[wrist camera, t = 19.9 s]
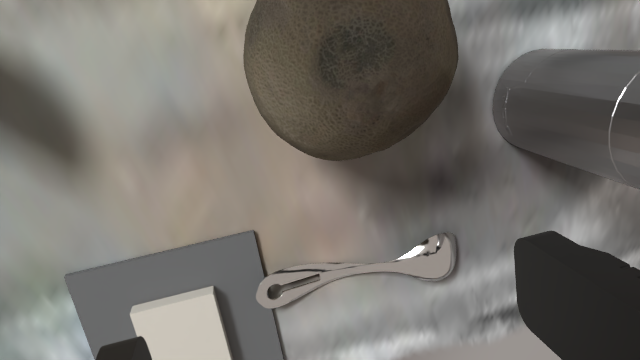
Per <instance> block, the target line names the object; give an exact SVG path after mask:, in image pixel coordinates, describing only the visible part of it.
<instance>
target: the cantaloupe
mask: <svg viewBox="0 0 640 360" xmlns="http://www.w3.org/2000/svg"><path fill="white" fill-rule="evenodd" d="M457 62H458V44H457V37H456V32H455V28H454V25H453V21H452V18H451V13H450V7H449V3H448V0H257V2H256V4H255V7H254V9H253V11H252V13H251V16H250V19H249V22H248V25H247V29H246V34H245V44H244V69H245V74H246V78H247V82H248V85H249V88H250V91H251V94H252V96H253V99H254V102H255V104H256V106H257V108H258V110H259V112H260V114H261V116H262V117H263V118H264V120H265V121H266V122H267V124H268V125H269V127H270V128H271V129H272V130H273V131H274V132H275V133H276V134H277V135H278V136H279V137H280V138H282V139H283V140H285V141H286V142H287V143H289V144H290V145H291V146H293V147H295V148H296V149H298V150H300V151H302V152H304V153H306V154H308V155H310V156H313V157H316V158H320V159H325V160H333V161H340V160H349V159H354V158H360V157H362V156H365V155H368V154H371V153H374V152H378V151H382V150H385V149H387V148H389V147H391V146H392V145H394V144H396V143H397V142H399V141H401V140H402V139H404V138H406V137H407V136H409V135H410V134H411V133H412V132H413V131H415V130H416V129H417V128H418V127H419V126H420V125H421V124H423V123H424V122H425V121H426V120H427V119H428V117H429V116H430V115H431V114H432V112H433V111H434V110H435V109H436V108H437V107H438V105H439V104H440V103H441V102H442V100H443V99H444V97H445V95H446V94H447V92H448V90H449V88H450V85H451V83H452V80H453V77H454V74H455V71H456V67H457Z"/></svg>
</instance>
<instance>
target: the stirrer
mask: <svg viewBox="0 0 640 360" xmlns="http://www.w3.org/2000/svg"><path fill="white" fill-rule="evenodd" d="M455 262H456V238H455V235H454V234H453V233H450V232H446V233H441V234H437V235H435V236H432V237H430V238H428V239H427V240H425V241H424V242H422V243H421V244H419V245H418V246H417V247H415V248H414V249H413V250H412V251H410V252H409V253H407V254H406V255H404V256H402V257H400V258H398V259H396V260H392V261H389V262H383V263H373V264H356V263H315V264H305V265H299V266H294V267H289V268H286V269H282V270H279V271H277V272H274V273H272V274H270V275H268V276H266V277H265V278H264V279H262V280H261V282H260V283H259V285H258V287H257V290H256V293H255V299H256V300H257V302H258V303H260V304H261V305H262V306H263V307H265V308H277V307H280V306H283V305H285V304H287V303H290V302H292V301H294V300H296V299H297V298H299V297H301V296H303V295H305V294H307V293H309V292H310V291H312V290H314V289H316V288H318V287H320V286H322V285H324V284H327V283H329V282H331V281H334V280H337V279H340V278H343V277H347V276H351V275H355V274H361V273H368V272H381V271H387V272H399V273H404V274H407V275H410V276H413V277H416V278H418V279H421V280H425V281H439V280H442V279H444V278H445V277H447V276H448V275H449V274H450V273H451V272H452V270H453V268H454V266H455ZM316 274H319V277H320V279H319V280H316V281H313V282H310V283H307V284H303V285H300V286H297V287H294V288H291V289H288V290H284V291H282V294H281V295H280V296H279V297H278V298H275V299H271V298H269V297H268V296H267V290H268V288H269V287H270V286H271V285H273V284H279V285H284V284H287V283H290V282H294V281H297V280H300V279H303V278H306V277H310V276H313V275H316Z"/></svg>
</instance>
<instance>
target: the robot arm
mask: <svg viewBox="0 0 640 360" xmlns="http://www.w3.org/2000/svg"><path fill="white" fill-rule="evenodd" d="M493 115H494V121H495V123H496V126H497V128H498V130H499V132H500V133H501V135H502V136H503V137H504V138H505V139H506V140H507V141H508V142H509V143H511V144H513V145H515V146H517V147H519V148H522V149H525V150H527V151H530V152H533V153H536V154H539V155H542V156H544V157H547V158H550V159H553V160H556V161H559V162H562V163H565V164H567V165H570V166H573V167H576V168H579V169H582V170H585V171H588V172H591V173H594V174H597V175H599V176H602V177H605V178H608V179H611V180H614V181H617V182H620V183H623V184H626V185H629V186H632V187H634V188H637V189H640V51H634V50H577V49H539V50H534V51H531V52H528V53H526V54H524V55H522V56H520V57H519V58H518V59H516V60H515V61H513V62H512V63H511V65H510V66H509V67H508V68H507V69H506V70H505V71H504V73H503V75H502V76H501V78H500V79H499V82H498V84H497V86H496V89H495V93H494V98H493ZM514 259H515V275H516V291H517V304H518V308H519V312H520V314H521V317H522V319H523V321H524V322H525V324H526V326H527V327H528V328H529V329H530V330H531V331H532V332H533V333H534V334H535V335H536V336H537V337H538V338H539V339H540V340H542V342H544V343H545V344H546V345H547V346H548V347H549V348H550V349H551V350H552V351H553V352H554V353H555V354H557V355H558V356H559V357H560V358H561V359H562V360H640V270H638V269H637V268H635V267H630V265H629V264H627V263H625V262H624V261H622V260H620V259H618V258H616V257H614V256H612V255H611V254H609V253H605V252H602V251H598V250H595V249H591V248H588V247H584V246H580V245H578V244H576V243H575V242H573V241H571V240H569V239H567V238H566V237H564V236H562V235H560V234H559V233H557V232H555V231H547V232H543V233H539V234H535V235H531V236H528V237H524V238H520V239H518V240H517V241H516V243H515V246H514ZM95 360H152V357H151V354H150V351H149V348H148V346H147V343H146V341H145V339H144V338H143V337H142V336H139V337H135V338H131V339H127V340H123V341H119V342H115V343H112V344H108V345H104V346H102V347H101V348H100V349H99V352H98V354H97V357H96V359H95Z"/></svg>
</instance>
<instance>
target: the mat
mask: <svg viewBox="0 0 640 360" xmlns="http://www.w3.org/2000/svg"><path fill="white" fill-rule="evenodd" d="M64 278H65V281H66V284H67V286H68V289H69V292H70V294H71V297H72V300H73V303H74V305H75V308H76V311H77V313H78V316H79V319H80V321H81V324H82V327H83V330H84V332H85V335H86V338H87V340H88V343H89V346H90V348H91V351H92V354H93V356H94V359H96V357H97V354H98V352H99V349H100V348H101V347H102V346H104V345H108V344H112V343H115V342H119V341H123V340H127V339H131V338H135V337H137V335H136V332H135V329H134V326H133V323H132V320H131V317H130V312H131V309H132V306H134V305H138V304H142V303H146V302H150V301H154V300H158V299H162V298H166V297H170V296H174V295H178V294H182V293H186V292H190V291H194V290H198V289H202V288H206V287H210V286H213V287H214V290H215V294H216V298H217V301H218V305H219V309H220V313H221V316H222V320H223V324H224V327H225V331H226V335H227V338H228V342H229V346H230V350H231V353H232V357H233V360H284V359H283V355H282V350H281V346H280V342H279V338H278V333H277V329H276V325H275V320H274V316H273V312H272V308H265V307H263V306H262V305H261V304H260V303H258V302H257V300H256V299H255V293H256V290H257V287H258V285H259V283H260V282H261V280H262V279H264V273H263V269H262V265H261V261H260V256H259V252H258V248H257V244H256V239H255V235H254V231H253V230H251V231H247V232H243V233H238V234H234V235H230V236H226V237H222V238H217V239H213V240H209V241H205V242H201V243H196V244H192V245H188V246H184V247H180V248H175V249H171V250H167V251H163V252H159V253H154V254H150V255H146V256H142V257H137V258H133V259H129V260H125V261H121V262H116V263H112V264H108V265H104V266H100V267H95V268H91V269H87V270H83V271H79V272H74V273H70V274H66V275H65V277H64ZM267 296H268V297H269V295H268V291H267Z"/></svg>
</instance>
